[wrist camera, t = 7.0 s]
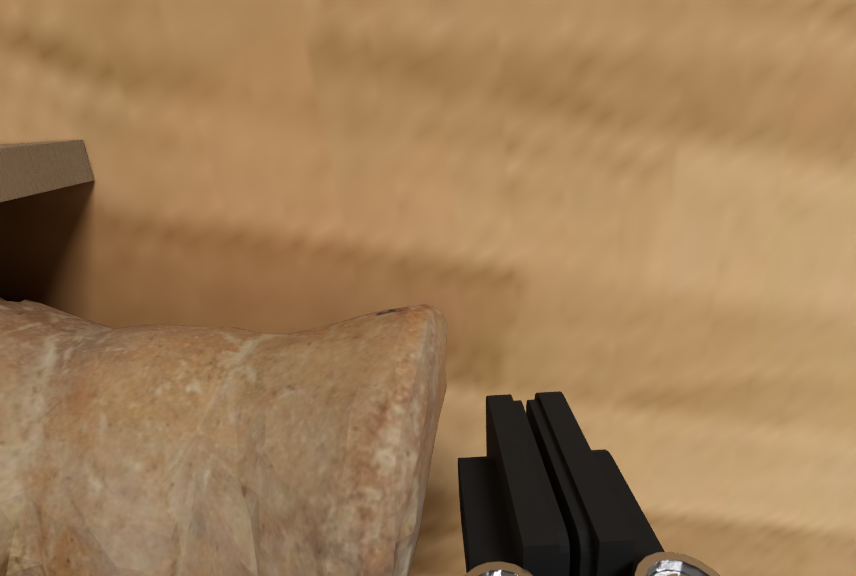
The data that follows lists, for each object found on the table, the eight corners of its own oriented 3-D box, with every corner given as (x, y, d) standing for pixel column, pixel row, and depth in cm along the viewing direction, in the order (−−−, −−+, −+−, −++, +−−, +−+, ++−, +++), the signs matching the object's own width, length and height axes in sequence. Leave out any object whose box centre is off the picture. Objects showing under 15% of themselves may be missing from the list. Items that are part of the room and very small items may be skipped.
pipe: (428, 503, 17) (445, 1015, 7) (-70, 489, 16) (-764, 1039, 7) (448, 248, 14) (525, 569, 4) (-170, 214, 13) (-1786, 514, 3)
